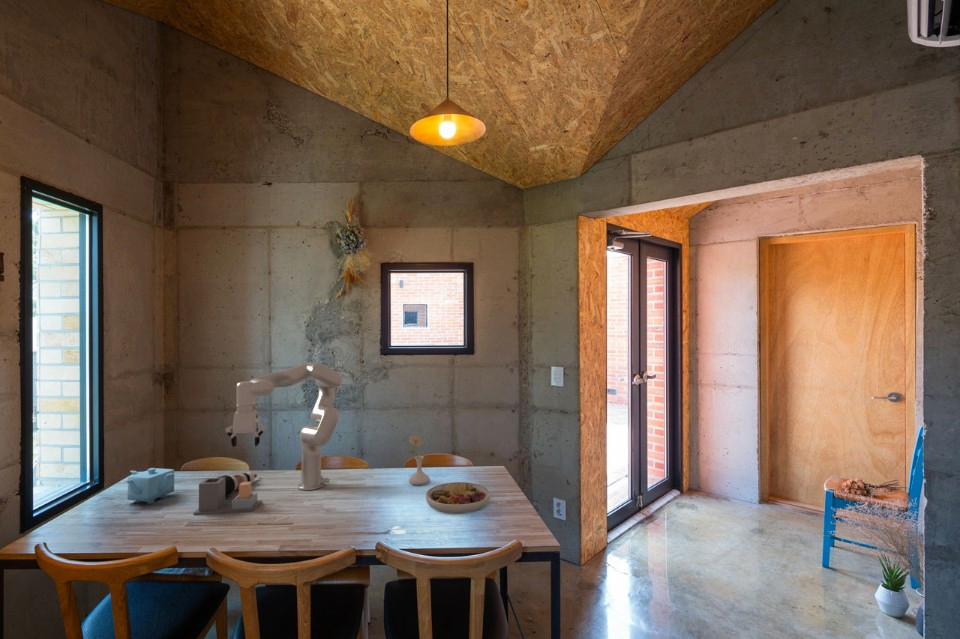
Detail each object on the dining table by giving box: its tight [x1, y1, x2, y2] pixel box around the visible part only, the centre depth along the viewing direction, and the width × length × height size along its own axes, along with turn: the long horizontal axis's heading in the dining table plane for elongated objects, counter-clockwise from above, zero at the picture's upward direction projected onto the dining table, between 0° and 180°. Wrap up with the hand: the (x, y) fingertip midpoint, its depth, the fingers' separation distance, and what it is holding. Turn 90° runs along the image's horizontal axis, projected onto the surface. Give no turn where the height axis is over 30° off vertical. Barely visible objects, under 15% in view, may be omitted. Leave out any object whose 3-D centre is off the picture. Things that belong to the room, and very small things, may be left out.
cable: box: [216, 471, 258, 498], centre depth 231 cm, size 10×34×10 cm, turn 172°
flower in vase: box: [408, 434, 431, 486], centre depth 242 cm, size 13×11×25 cm
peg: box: [238, 482, 252, 499], centre depth 209 cm, size 4×4×10 cm
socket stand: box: [192, 477, 263, 516], centre depth 208 cm, size 25×11×13 cm, turn 99°
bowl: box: [425, 481, 491, 515], centre depth 213 cm, size 30×30×8 cm
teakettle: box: [124, 467, 175, 505], centre depth 220 cm, size 19×19×15 cm
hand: (245, 445), depth 210 cm, fingers open, 9 cm apart
